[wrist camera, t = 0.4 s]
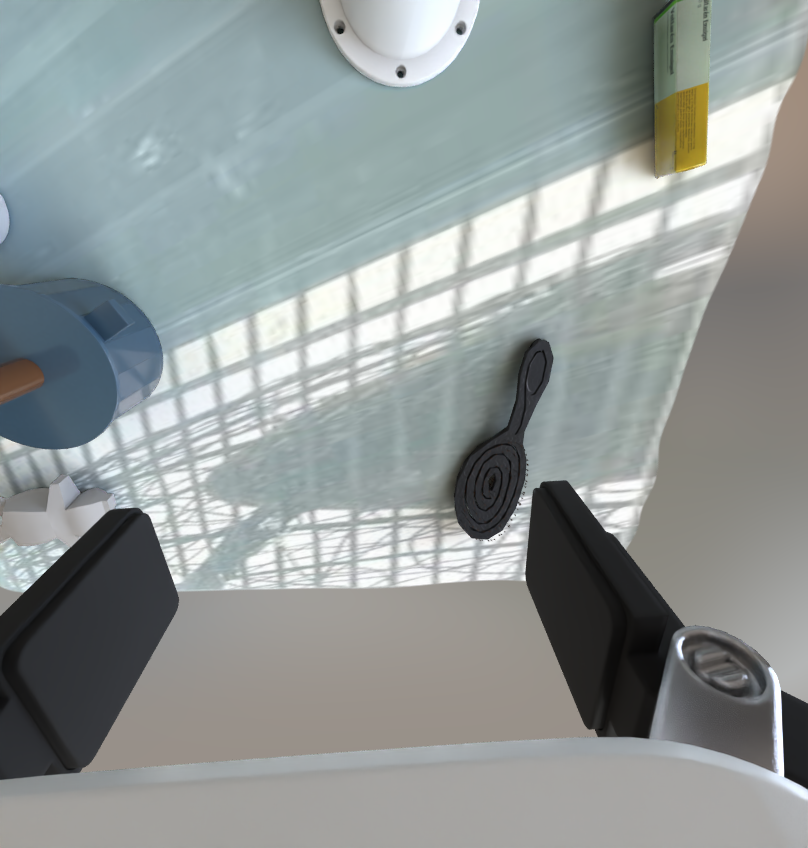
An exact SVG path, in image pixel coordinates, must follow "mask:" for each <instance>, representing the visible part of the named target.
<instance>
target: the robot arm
mask: <svg viewBox="0 0 808 848" xmlns="http://www.w3.org/2000/svg"><path fill="white" fill-rule="evenodd" d="M479 2H480V0H320V4H321V8H322V12H323V16H324V18H325V21H326V24H327V26H328V29H329V32H330V34H331V36H332V38H333V40H334V42H335V43H336V45H337V47H338V49H339V51H340V52H341V53H342V54H343V56H344V57H345V58H346V59H347V61H348V62H349V63H350V64H351V65H352V66H353V67H354V68H355V69H357V70H358V71H359V72H360V73H361V74H362V75H364V76H366V77H368V78H369V79H371V80H373V81H375V82H377V83H380V84H384V85H387V86H391V87H409V86H414V85H419V84H421V83H424V82H426V81H428V80H431V79H432V78H434V77H435V76H437V75H438V74H440V73H441V72H442V71H444V70H445V69H446V68H447V67H448V66H449V65H450V63H451V62H452V61H453V60H454V59H455V58H456V57H457V55H458V54H459V52H460V50H461V49H462V47H463V46H464V44H465V42H466V40H467V38H468V36H469V34H470V32H471V29H472V27H473V24H474V21H475V18H476V15H477V12H478V7H479ZM339 28H342V29H343V30H344V32H343V33H342V34H338V29H339ZM458 29H460V30H461V31H462V34H461V35H458V34H457V33H456V30H458ZM399 72H402V73H403V75H404V76H403V77H402V78H399V77H398V75H397V74H398V73H399ZM525 575H526V582H527V586H528V589H529V591H530V594H531V596H532V599H533V601H534V603H535V606H536V608H537V611H538V613H539V616H540V618H541V621H542V623H543V626H544V628H545V630H546V633H547V635H548V637H549V640H550V643H551V645H552V647H553V650H554V652H555V655H556V657H557V660H558V662H559V664H560V667H561V669H562V672H563V674H564V677H565V679H566V681H567V684H568V686H569V689H570V691H571V694H572V696H573V698H574V701H575V703H576V705H577V708H578V711H579V713H580V715H581V718H582V720H583V722H584V724H585V726H586V727H587V728H588V729H595V731H596V733H597V736H598V737H578V738H557V739H540V740H539V739H537V740H518V741H498V742H483V743H468V744H455V745H440V746H425V747H411V748H396V749H383V750H367V751H353V752H341V753H326V754H313V755H300V756H286V757H273V758H260V759H247V760H234V761H221V762H209V763H208V762H207V763H194V764H181V765H169V766H157V767H144V768H133V769H120V770H108V771H96V772H83V773H80V771H81V770H82V768H83V767H86V766H87V765H89V764H90V762H91V761H92V760H93V758H94V757H95V755H96V753H97V752H98V750H99V748H100V747H101V745H102V743H103V741H104V739H105V737H106V736H107V734H108V732H109V730H110V729H111V727H112V725H113V723H114V722H115V720H116V718H117V716H118V714H119V712H120V711H121V709H122V707H123V705H124V704H125V702H126V700H127V698H128V697H129V695H130V693H131V691H132V690H133V688H134V686H135V684H136V682H137V680H138V679H139V677H140V675H141V674H142V672H143V670H144V668H145V667H146V665H147V663H148V661H149V659H150V657H151V656H152V654H153V652H154V650H155V649H156V647H157V645H158V643H159V642H160V640H161V638H162V636H163V634H164V632H165V631H166V629H167V627H168V626H169V624H170V622H171V620H172V619H173V617H174V615H175V613H176V611H177V608H178V603H179V597H178V594H177V591H176V588H175V585H174V582H173V580H172V577H171V574H170V571H169V569H168V566H167V563H166V560H165V558H164V555H163V552H162V549H161V547H160V544H159V541H158V538H157V535H156V533H155V530H154V527H153V524H152V522H151V519H150V517H149V515H147V514H145V513H143V512H142V511H141V510H140V509H139V508H125V509H112V510H109V511H108V512H106V513H105V514H104V515H103V516H102V517H101V518H100V519H99V520H98V521H97V522H96V523H95V524H94V525H93V526H92V527H91V528H90V529H89V530H88V531H87V532H86V533H85V534H84V535H83V536H82V537H81V538H80V539H79V540H78V541H77V542H76V543H75V544H74V545H73V546H72V547H71V548H70V549H68V550H67V551H66V552H65V553H64V554H63V555H62V556H61V557H60V558H59V559H58V560H57V561H56V562H55V563H54V564H53V565H52V566H51V567H50V568H49V569H48V570H47V571H46V572H45V573H44V574H43V575H42V576H41V577H40V578H39V579H38V580H37V581H36V582H35V583H34V584H33V585H32V586H31V587H30V588H29V589H28V590H26V591H25V592H24V593H23V595H21V596H20V597H19V598H18V599H17V601H15V602H14V603H13V604H12V605H11V606H10V607H9V608H8V609H7V610H6V611H5V612H4V613H3V614H2V615H1V616H0V848H808V703H806V702H804V701H802V700H800V699H798V698H796V697H794V696H791V695H790V694H787V693H785V692H783V691H781V690H780V686H779V682H778V678H777V676H776V674H775V672H774V671H773V669H772V668H771V666H770V665H769V663H768V662H767V661H766V660H765V659H764V658H763V657H762V656H761V655H760V654H759V653H758V652H757V651H756V650H754V649H753V648H752V647H750V646H749V645H747V644H746V643H744V642H743V641H742V640H740V639H738V638H736V637H734V636H732V635H730V634H728V633H726V632H723V631H720V630H717V629H714V628H711V627H705V626H696V625H695V626H688V627H685V626H684V625H683V623H682V622H681V621H680V620H679V618H678V617H677V616H676V614H675V613H674V612H673V610H672V609H671V608H670V607H669V605H668V604H667V603H666V601H665V600H664V599H663V598H662V596H661V595H660V594H659V593H658V591H657V590H656V589H655V587H654V586H653V585H652V583H651V582H650V581H649V580H648V578H647V577H646V576H645V575H644V573H643V572H642V571H641V569H640V568H639V567H638V566H637V564H636V563H635V562H634V560H633V559H632V558H631V556H630V555H629V554H628V553H627V551H626V550H625V549H624V547H623V546H622V545H621V544H620V542H619V541H618V540H617V538H616V537H615V536H614V535H613V534H611V533H608V532H606V531H605V530H604V529H603V527H602V526H601V525H600V523H599V522H598V521H597V519H596V518H595V517H594V515H593V514H592V513H591V511H590V510H589V509H588V507H587V506H586V505H585V504H584V502H583V501H582V500H581V498H580V497H579V496H578V494H577V493H576V492H575V490H574V489H573V488H572V486H571V485H570V484H569V483H568V482H567V481H565V480H563V481H547V482H542V483H541V485H540V488H535V489H534V490H533V496H532V507H531V517H530V528H529V539H528V550H527V561H526V573H525Z"/></svg>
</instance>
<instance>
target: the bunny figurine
mask: <svg viewBox="0 0 808 848" xmlns="http://www.w3.org/2000/svg"><path fill="white" fill-rule="evenodd" d="M116 505H117V503H116V500H115V497H114V494H108V493H106V492H105V491H104V490H103V489H100V488H93V489H89V490H87V491H85V492H83V493H81V492H80V491H79V489H78V488H77V487H76V485H75V484H74V482H73V481H72V479H71V478H70V477H69V475H62V474H61V475H60V476H59V477H58V478H57V479H56V480H54V481H53V482H52V483H51V484H50V487H49V488H37V489H30V490H27V491H24V492H22V493H19V494H17V495H14V496H12V497H9V498H4V497H1V496H0V516H2V525H0V544H1V543H3V542H5V541H7V540H9V539H11V538H12V539H13V540H14V541H15V542H16V543H17V545H18V546H33V545H39V544H43V543H47V542H49V541H51V540H54V539H56V538H58V539H59V540H61V541H62V542H64V543H65V544H66V545H68V546H69V547H70V548H71V547H72V546H73V545H74V544H75V543H76V542H77V541H78V540H79V539H80V538H81V537H82V536H83V535H84V534H85V533H86V532H87V531H88V530H89V529H90V528H91V527H92V526H93V525H94V524H95V523H96V522H97V521H98V520H99V519H100V518H101V517H102V516H103V515H104V514H105V513H106V512H108V511H109V510H112V509H116V508H115V506H116Z"/></svg>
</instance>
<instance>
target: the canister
mask: <svg viewBox="0 0 808 848" xmlns="http://www.w3.org/2000/svg"><path fill="white" fill-rule="evenodd" d="M16 286H21V287H24V288H28V289H31V290H35V291H37V292H39V293H42V294H44V295H47V296H49V297H51V298H53V299H54V300H56V301H58V302H60V303H62V304H63V305H65V306H66V307H68V308H69V309H71V310H72V311H73V312H75V313H76V314H77V315H78V316H79V317H81V318H82V319H83V320H84V321H85V322H86V323H87V324H88V325H89V326H90V327H91V328H92V329H93V330H94V331H95V332H96V334H97V335H98V336H99V337H100V339H101V340H102V341H103V343H104V344H105V346H106V347H107V349H108V351H109V353H110V355H111V357H112V359H113V361H114V363H115V366H116V369H117V372H118V376H119V380H120V389H121V394H120V403H119V408H118V411H117V414H116V416H115V418H114V420H115V419H117V418H118V417H120V416H121V415H122V414H124V413H125V412H127V411H128V410H130V409H131V408H133V407H134V406H136V405H137V404H139V403H140V402H142V401H143V400H144V399H146V398H147V397H149V396H150V395H151V393H152V392H153V391H154V389H155V388H156V386H157V385H158V383H159V380H160V378H161V374H162V370H163V353H162V348H161V344H160V341H159V338H158V336H157V334H156V332H155V329H154V328H153V326H152V324H151V323H150V321H149V320H148V319H147V317H146V316H145V315H144V313H143V312H142V311H141V310H140V309H139V308H138V307H137V306H136V305H135V304H134V303H133V302H131V301H130V300H129V299H128V298H126V297H125V296H123V295H122V294H121V293H119V292H117V291H115V290H114V289H112V288H110V287H107V286H105V285H103V284H100V283H97V282H93V281H89V280H84V279H76V278H68V279H60V280H53V281H46V282H38V283H31V284H24V285H16ZM114 420H113V421H114Z"/></svg>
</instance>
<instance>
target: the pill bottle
mask: <svg viewBox="0 0 808 848" xmlns="http://www.w3.org/2000/svg"><path fill="white" fill-rule="evenodd" d="M9 224H10V220H9V213H8V209H7V206H6V204H5V201H4V199H3V197H2V195H1V194H0V244H1V243H2V242H3V241H4V239H5V238H6V236H7V234H8V231H9Z"/></svg>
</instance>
